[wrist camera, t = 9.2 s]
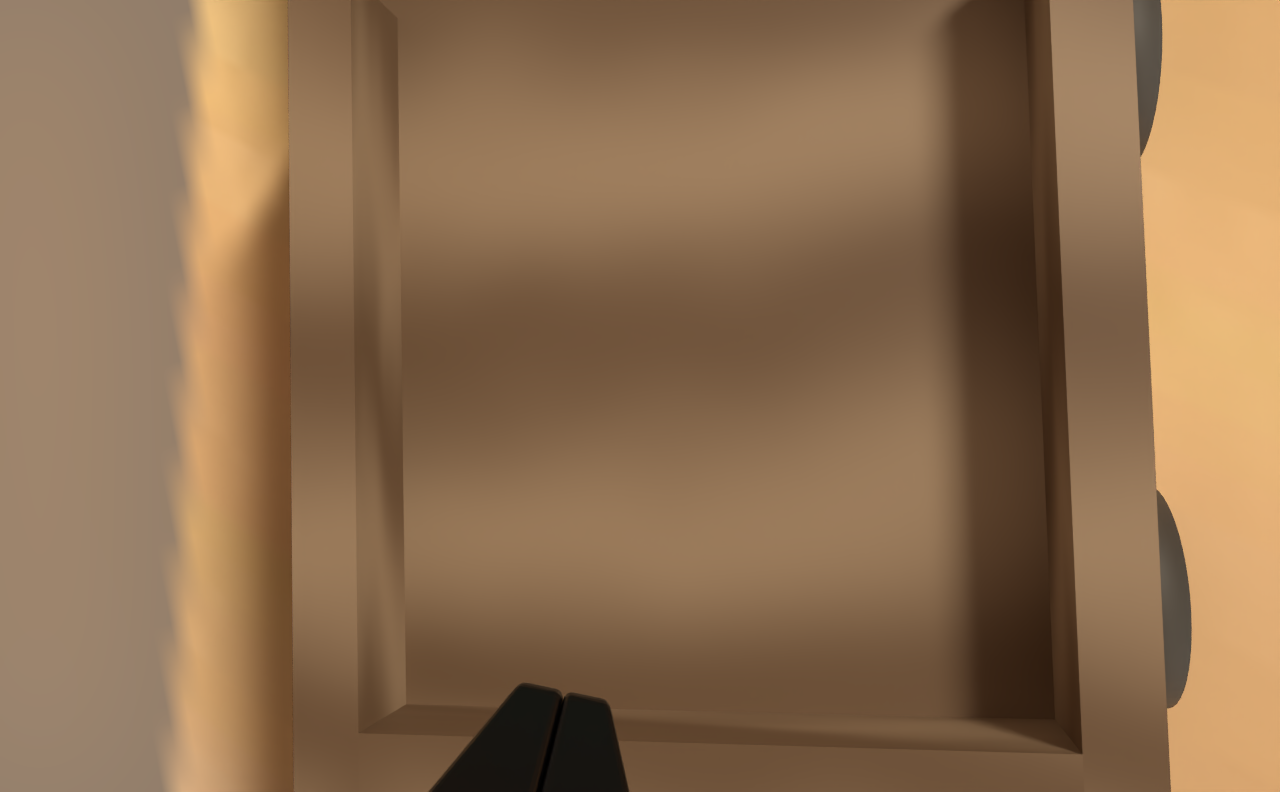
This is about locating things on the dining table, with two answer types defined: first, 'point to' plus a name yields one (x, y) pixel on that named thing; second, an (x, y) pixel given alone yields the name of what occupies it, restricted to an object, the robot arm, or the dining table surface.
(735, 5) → the cart
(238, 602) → the dining table surface
